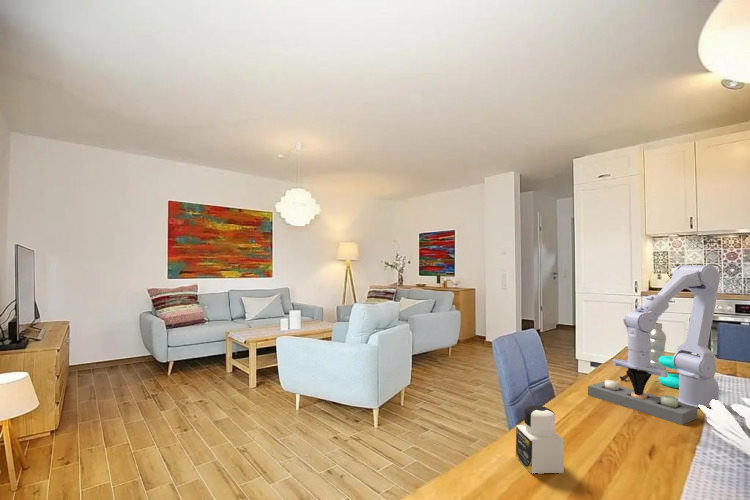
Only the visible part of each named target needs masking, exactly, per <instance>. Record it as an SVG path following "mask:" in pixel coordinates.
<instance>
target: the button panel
mask: <svg viewBox="0 0 750 500" xmlns="http://www.w3.org/2000/svg"><path fill="white" fill-rule="evenodd" d="M631 392H634V388H629V387H625V386H622V385H619V391H616V392H615V391H612V390H608V389H605V381H601V382H598V383H594V384H590V385H588V386H587V395H588V396H590V397H593V398H597V399H599V400H602V401H604V402H609V403H612V404H615V405H619V406H622V407H623V408H624V407H625V408H628V409H631V410H634V411H637V412H640V413H643V414H646V415H649V416H653V417H656V418H658V419H663V420H666V421H669V422H671V423H675V424H679V425H681V426H682V425H685V424H687V423H690V422H691V421H692V422H693V421H694V420H697V419H698V409H699V408H698V407H694V406H691V405H687V404H683V403H681V402H678V408H677V409H674V408H670V407H667V406H663V405H661V396H658V395H654V394H650V393H646V392H644V391H643V394H645V395H647V399H645V400H643V399H639V398H636V397H632V396H631Z"/></svg>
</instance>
